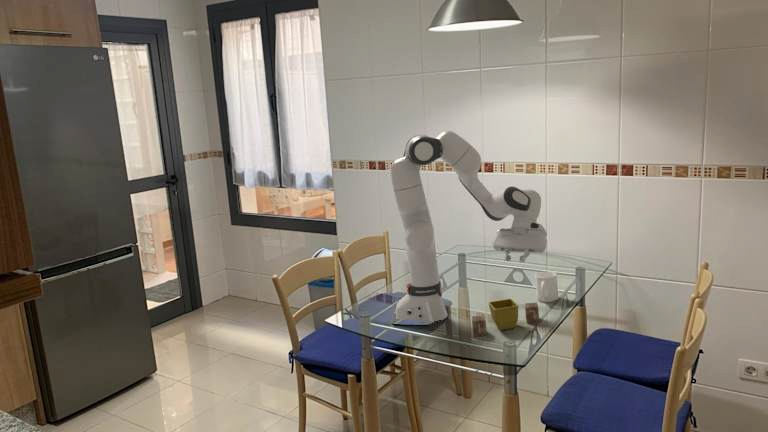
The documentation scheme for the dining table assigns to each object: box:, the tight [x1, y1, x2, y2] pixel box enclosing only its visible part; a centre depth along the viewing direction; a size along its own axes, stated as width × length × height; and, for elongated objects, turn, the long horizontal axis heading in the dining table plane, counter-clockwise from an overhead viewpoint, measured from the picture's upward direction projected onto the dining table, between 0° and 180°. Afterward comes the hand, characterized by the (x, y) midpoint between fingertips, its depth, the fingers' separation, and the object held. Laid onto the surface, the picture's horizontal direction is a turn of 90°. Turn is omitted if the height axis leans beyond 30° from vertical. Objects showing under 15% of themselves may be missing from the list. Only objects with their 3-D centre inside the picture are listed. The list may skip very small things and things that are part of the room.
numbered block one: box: [471, 315, 488, 338], centre depth 207 cm, size 4×5×6 cm
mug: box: [534, 271, 559, 303], centre depth 231 cm, size 12×8×10 cm
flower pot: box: [488, 298, 519, 331], centre depth 210 cm, size 9×9×9 cm
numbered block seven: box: [524, 302, 540, 324], centre depth 213 cm, size 4×5×6 cm
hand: (514, 260), depth 217 cm, fingers open, 4 cm apart
